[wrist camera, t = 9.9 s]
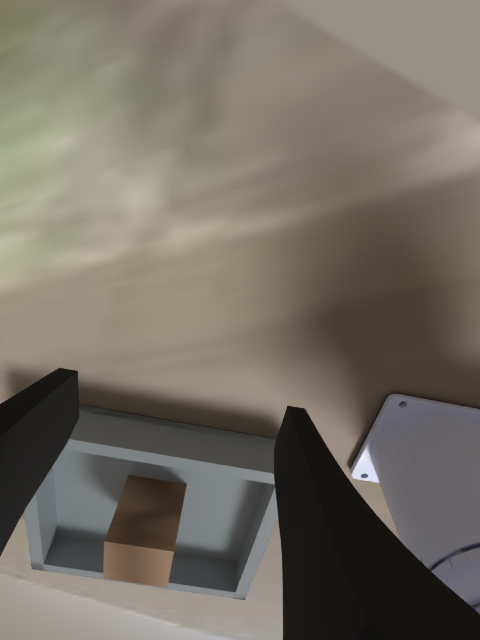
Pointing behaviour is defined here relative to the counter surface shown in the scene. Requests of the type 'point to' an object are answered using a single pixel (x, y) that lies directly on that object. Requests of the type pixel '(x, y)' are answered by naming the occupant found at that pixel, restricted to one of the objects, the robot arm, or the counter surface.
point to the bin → (163, 464)
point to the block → (144, 532)
